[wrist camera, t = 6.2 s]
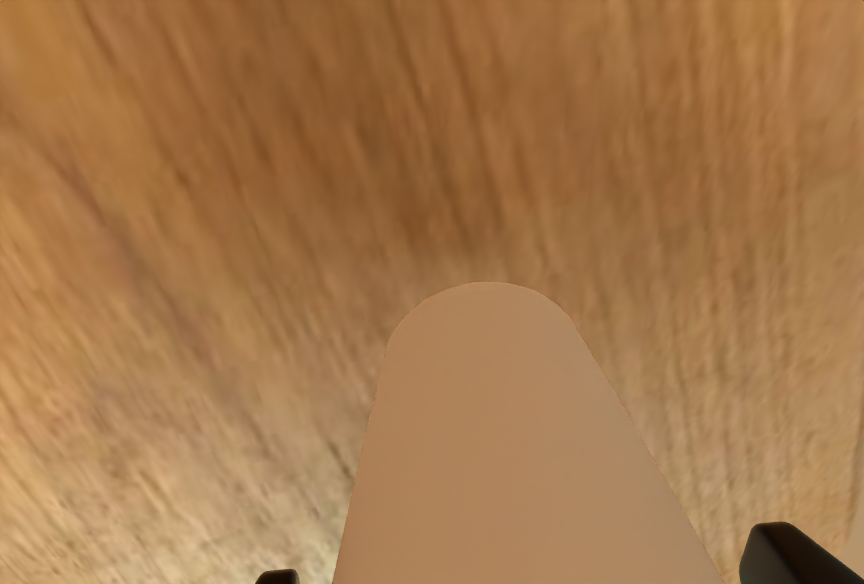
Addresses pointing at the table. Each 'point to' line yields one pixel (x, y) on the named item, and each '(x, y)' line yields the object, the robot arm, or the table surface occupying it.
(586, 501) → the cup
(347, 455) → the table surface
